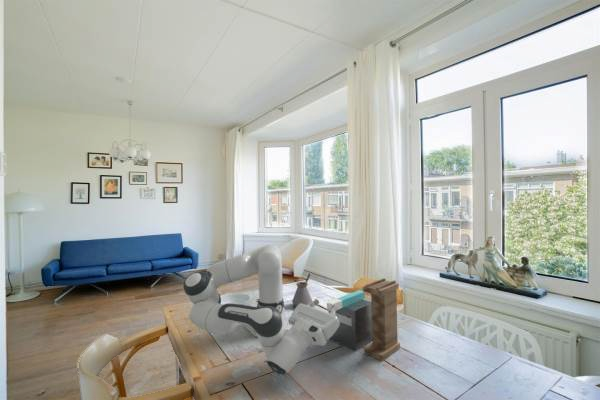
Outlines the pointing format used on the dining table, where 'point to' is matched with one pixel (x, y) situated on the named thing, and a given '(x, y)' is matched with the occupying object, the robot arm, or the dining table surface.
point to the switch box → (354, 325)
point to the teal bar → (346, 300)
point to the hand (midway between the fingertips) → (326, 303)
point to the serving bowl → (236, 299)
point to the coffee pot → (302, 294)
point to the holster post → (383, 318)
